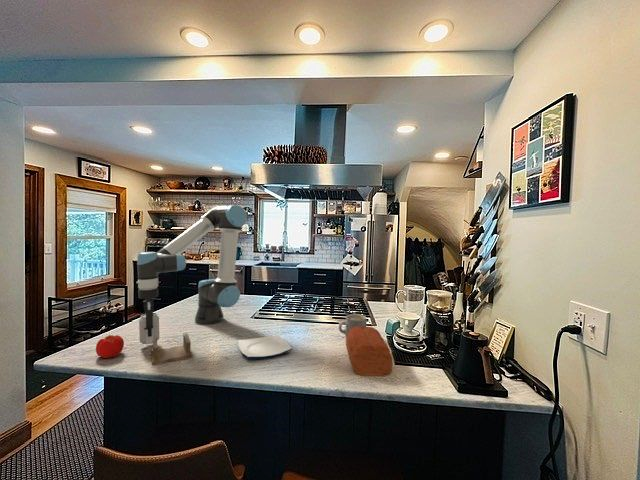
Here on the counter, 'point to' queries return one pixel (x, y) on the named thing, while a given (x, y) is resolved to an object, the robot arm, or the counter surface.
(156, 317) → the can
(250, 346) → the plate
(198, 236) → the robot arm
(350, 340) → the bread
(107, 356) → the tomato
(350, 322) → the coffee mug
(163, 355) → the cradle holder
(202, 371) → the counter surface
